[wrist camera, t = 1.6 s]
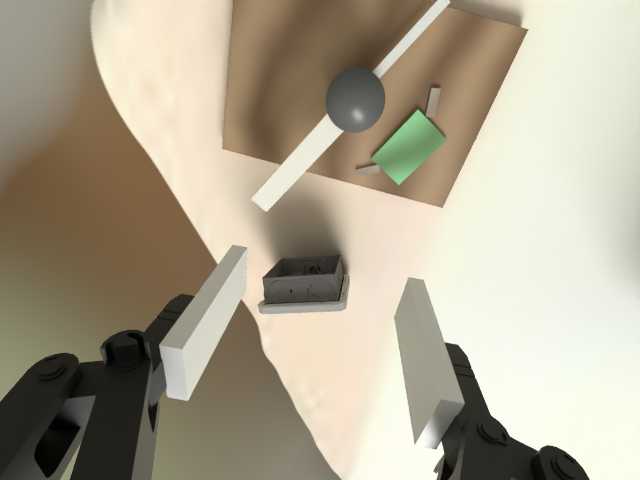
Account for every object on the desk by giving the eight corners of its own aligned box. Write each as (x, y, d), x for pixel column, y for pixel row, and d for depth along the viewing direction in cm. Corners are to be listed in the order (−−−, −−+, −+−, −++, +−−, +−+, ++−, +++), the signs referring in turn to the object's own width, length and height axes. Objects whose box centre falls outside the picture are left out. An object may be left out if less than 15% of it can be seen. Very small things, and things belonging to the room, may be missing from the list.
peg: (426, -24, 23) (447, -55, 18) (460, 23, 24) (489, 8, 19) (257, 171, 32) (238, 190, 27) (289, 199, 33) (276, 222, 28)
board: (521, 31, 25) (530, 28, 24) (439, 203, 33) (443, 209, 31) (242, -48, 25) (235, -55, 23) (226, 146, 32) (220, 149, 31)
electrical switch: (281, 282, 40) (260, 327, 32) (273, 248, 39) (250, 285, 30) (350, 278, 39) (348, 324, 31) (346, 242, 37) (343, 280, 29)
